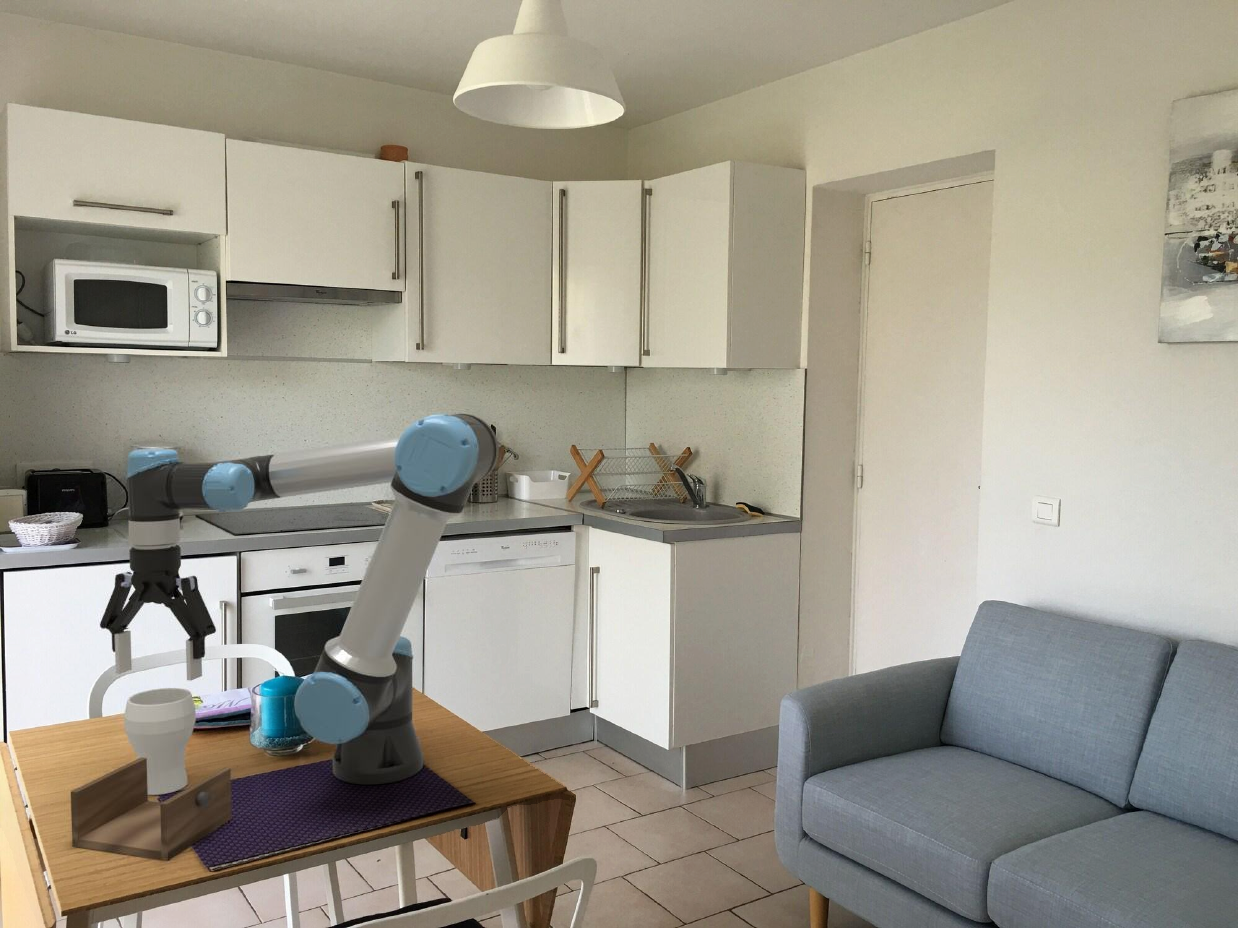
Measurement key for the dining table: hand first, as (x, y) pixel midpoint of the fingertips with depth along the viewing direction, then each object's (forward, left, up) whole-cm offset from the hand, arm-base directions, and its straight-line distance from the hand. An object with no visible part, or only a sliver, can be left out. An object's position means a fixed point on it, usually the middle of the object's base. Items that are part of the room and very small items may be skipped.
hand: (158, 675), depth 166 cm
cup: (0, 0, -19) cm, 19 cm away
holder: (-11, +15, -18) cm, 26 cm away
